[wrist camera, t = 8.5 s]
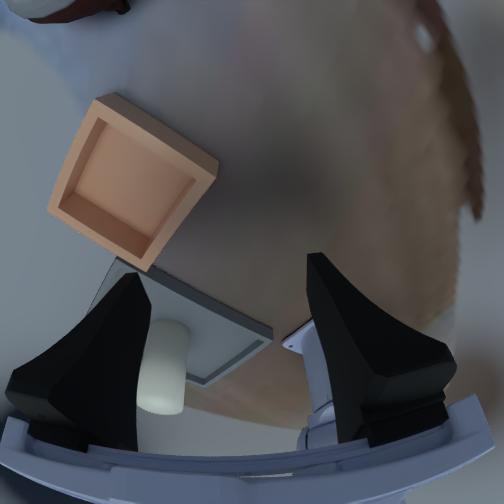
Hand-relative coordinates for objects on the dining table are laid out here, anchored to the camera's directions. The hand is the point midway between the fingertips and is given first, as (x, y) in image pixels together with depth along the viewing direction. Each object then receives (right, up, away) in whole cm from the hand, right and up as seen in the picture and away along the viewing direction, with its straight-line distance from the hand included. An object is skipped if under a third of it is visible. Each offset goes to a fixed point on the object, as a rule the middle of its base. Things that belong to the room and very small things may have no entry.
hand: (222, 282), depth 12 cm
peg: (-7, -7, +15) cm, 18 cm away
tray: (-7, -6, +16) cm, 18 cm away
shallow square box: (-7, +6, +6) cm, 12 cm away
